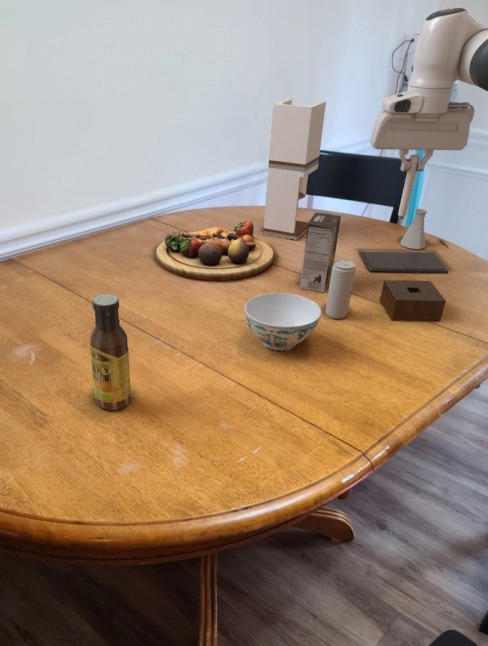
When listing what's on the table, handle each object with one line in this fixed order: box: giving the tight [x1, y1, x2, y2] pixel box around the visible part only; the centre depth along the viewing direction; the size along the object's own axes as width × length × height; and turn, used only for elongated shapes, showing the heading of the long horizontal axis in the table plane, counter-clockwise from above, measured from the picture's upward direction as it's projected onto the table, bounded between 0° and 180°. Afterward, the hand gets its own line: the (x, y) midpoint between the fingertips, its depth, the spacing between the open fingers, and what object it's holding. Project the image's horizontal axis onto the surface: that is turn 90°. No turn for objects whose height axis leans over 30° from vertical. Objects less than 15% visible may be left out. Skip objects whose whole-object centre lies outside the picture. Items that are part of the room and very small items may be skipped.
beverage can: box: [325, 259, 357, 320], centre depth 123 cm, size 5×5×12 cm
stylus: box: [397, 154, 420, 220], centre depth 129 cm, size 2×2×14 cm
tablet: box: [358, 251, 449, 275], centre depth 150 cm, size 20×13×1 cm, turn 88°
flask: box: [400, 208, 428, 250], centre depth 159 cm, size 7×7×10 cm
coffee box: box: [299, 212, 342, 293], centre depth 135 cm, size 9×6×16 cm
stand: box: [379, 279, 447, 323], centre depth 127 cm, size 11×11×5 cm
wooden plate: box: [155, 219, 275, 281], centre depth 151 cm, size 32×32×8 cm
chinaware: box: [244, 292, 322, 352], centre depth 114 cm, size 15×15×8 cm
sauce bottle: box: [89, 293, 132, 411], centre depth 93 cm, size 6×6×20 cm
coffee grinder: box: [262, 98, 327, 241], centre depth 161 cm, size 11×11×35 cm
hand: (411, 170), depth 127 cm, fingers closed on stylus, 2 cm apart
